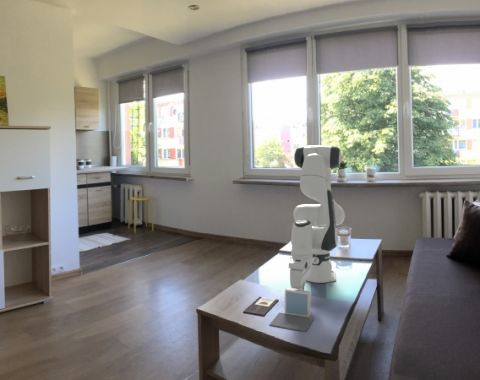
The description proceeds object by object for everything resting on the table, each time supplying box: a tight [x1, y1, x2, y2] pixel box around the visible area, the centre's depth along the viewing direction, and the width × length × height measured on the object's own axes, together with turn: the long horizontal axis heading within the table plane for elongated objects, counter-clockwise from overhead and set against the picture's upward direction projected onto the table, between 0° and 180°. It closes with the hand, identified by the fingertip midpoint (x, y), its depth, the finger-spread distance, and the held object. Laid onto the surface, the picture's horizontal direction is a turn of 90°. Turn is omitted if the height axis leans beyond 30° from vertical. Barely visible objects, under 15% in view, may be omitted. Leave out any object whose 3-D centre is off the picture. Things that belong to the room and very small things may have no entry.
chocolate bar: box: [242, 296, 279, 317], centre depth 162 cm, size 9×1×18 cm
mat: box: [269, 312, 314, 333], centre depth 146 cm, size 12×14×1 cm
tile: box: [284, 287, 312, 318], centre depth 153 cm, size 2×10×10 cm, turn 66°
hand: (301, 292), depth 158 cm, fingers closed
